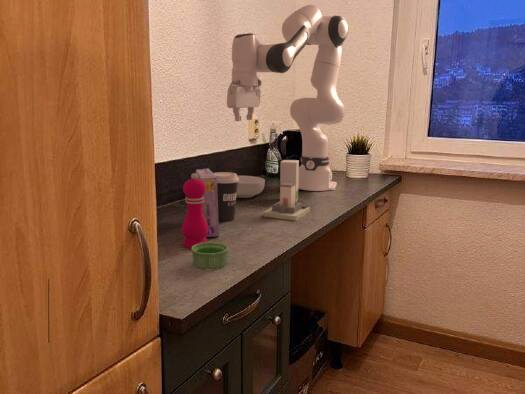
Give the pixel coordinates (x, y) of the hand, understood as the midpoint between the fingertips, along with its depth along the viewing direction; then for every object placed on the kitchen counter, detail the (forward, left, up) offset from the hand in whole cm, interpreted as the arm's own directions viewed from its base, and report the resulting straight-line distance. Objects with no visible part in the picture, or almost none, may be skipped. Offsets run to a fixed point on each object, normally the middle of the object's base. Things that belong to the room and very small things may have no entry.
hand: (243, 120), depth 175 cm
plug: (+6, +20, -30) cm, 36 cm away
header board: (+6, +20, -31) cm, 37 cm away
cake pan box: (+35, +5, -31) cm, 47 cm away
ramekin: (+61, +21, -31) cm, 72 cm away
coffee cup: (+22, +4, -31) cm, 38 cm away
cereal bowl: (-13, -6, -31) cm, 34 cm away
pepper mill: (+50, +10, -31) cm, 60 cm away
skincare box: (-14, +13, -31) cm, 37 cm away
